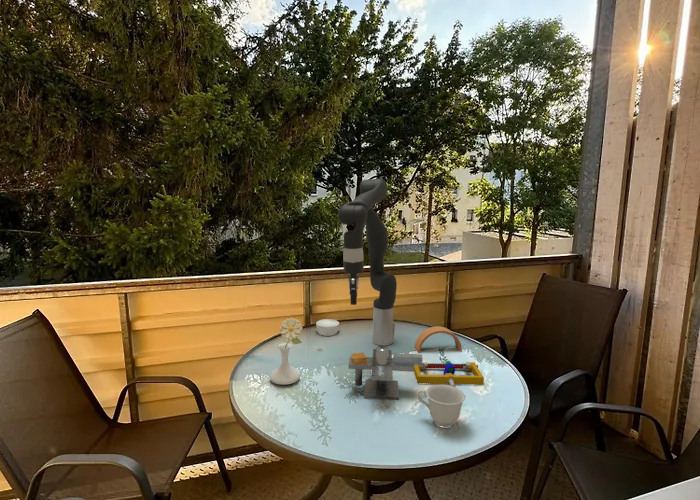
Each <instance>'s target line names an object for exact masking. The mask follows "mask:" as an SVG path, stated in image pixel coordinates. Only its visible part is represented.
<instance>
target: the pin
mask: <svg viewBox="0 0 700 500" xmlns="http://www.w3.org/2000/svg"><path fill="white" fill-rule="evenodd" d="M350 356H351V359H352V361H353V362H354V364H360V363H367V357H368V356H367V355H366V354H365V352H356V353H355V352H354V353H351V354H350ZM363 370H364V369H354V371H355V372H354V373H355V374H354V377H355V378H354V385H355V386H356V387H357V386H358V387H360V386H362V385H363Z"/></svg>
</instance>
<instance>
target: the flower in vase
mask: <svg viewBox="0 0 700 500" xmlns="http://www.w3.org/2000/svg"><path fill="white" fill-rule="evenodd" d="M302 331H303V326H302V323H301V321H300V320H298V319H297V318H293V317H290V318H286V319H285V320H282V323H281V324H280V327H279V333H280V335H281V337H282V338H283V339H282V338H280V337H279V336H278V337H277V338H278V339H279V340H280V341H282V342H285V343H280V344H278V346H277V348H278V349H279V350H280V354H281V364H280V365H279V366H278V367H276V368H275V369H274V370H273V371H272V372H271V373H270V375H269V380H270V381H271V382H272V383H274V384H276V385H291V384H294V383H296V382H298V381H299V380H300V378H301V372H300V371H299V370H298V369H296V368H295V367H294V366H292V365H290V364H289V352H290V349H291V348H292V344H293V345H298V344H302V343H303V342H302V341H301V340H300V339H299V337H300V335H301V333H302ZM287 340H288V342H287ZM290 341H291V342H292V344H291V343H290Z"/></svg>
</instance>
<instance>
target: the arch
mask: <svg viewBox="0 0 700 500" xmlns="http://www.w3.org/2000/svg"><path fill="white" fill-rule="evenodd" d="M436 334H447V335H450V336H451V337H452V338H453V340H454V344H455V346H454V347H455V348H456V349H457V350H458V351H459V352H463V348H462V343H461V341H460V340H459V338H458V337H457V335H456V334H454V332H452V331H451V329H448V328H447V327H444V326H438V325H436V326H431V327H428V328H426V329H425V330H423V331H421V333H420V334H419V335H418V337H417V338H416V339H415V340H416V341H415V344H414V349H415V351H416V353H417V354H419V353H420V354H421V349H422V346H423V344H424V342H426V340H427V339H428V338H430V337H431V336H433V335H436Z"/></svg>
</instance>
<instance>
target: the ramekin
mask: <svg viewBox="0 0 700 500" xmlns="http://www.w3.org/2000/svg"><path fill="white" fill-rule="evenodd" d="M315 323H316V324H315V326H316V331H317V333H318V334H319V335H321V336H322V335H323V336H322V337H324V336H325V337H332V336H335V335H336V334H337V333H338V331H339V326H340V322H339V321H338V320H336V319H332V318H331V319H330V318H325V319H323V318H322V319H319V320H318V321H316V322H315Z"/></svg>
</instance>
